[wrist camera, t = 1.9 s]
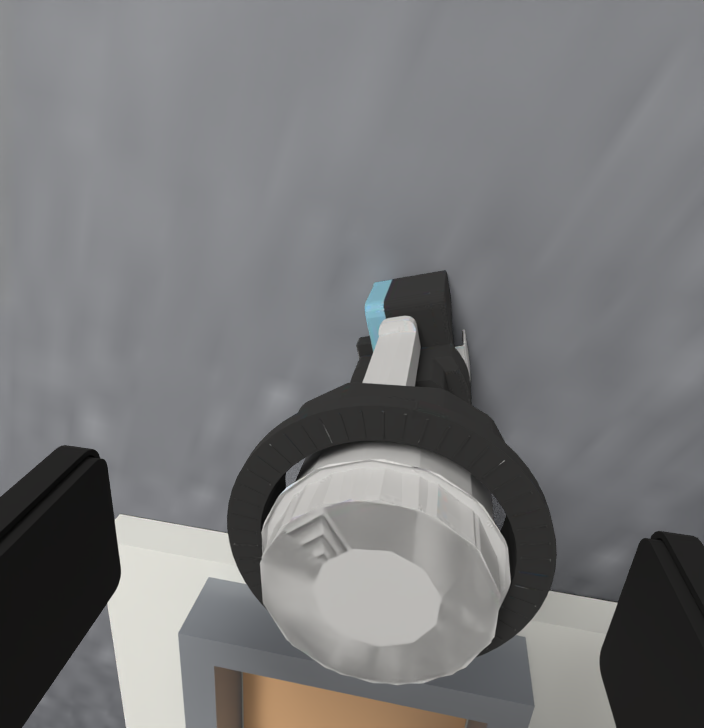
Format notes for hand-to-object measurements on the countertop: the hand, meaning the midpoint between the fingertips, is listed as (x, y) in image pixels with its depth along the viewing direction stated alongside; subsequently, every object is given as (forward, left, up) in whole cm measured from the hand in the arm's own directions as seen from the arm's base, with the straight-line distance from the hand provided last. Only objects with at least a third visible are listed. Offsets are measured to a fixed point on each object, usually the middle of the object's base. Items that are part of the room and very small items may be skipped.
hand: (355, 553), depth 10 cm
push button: (-1, 0, -9) cm, 9 cm away
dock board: (0, +15, -9) cm, 17 cm away
